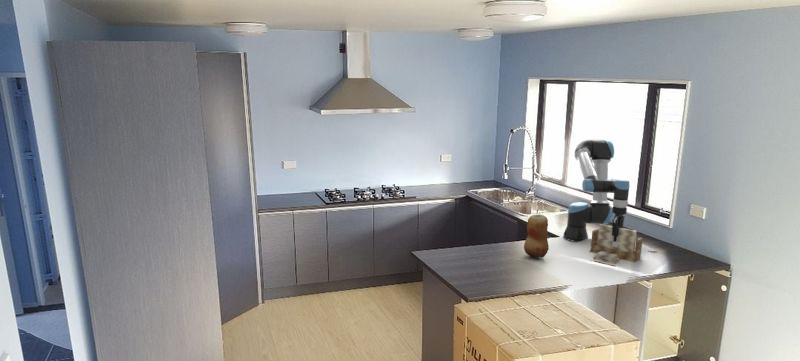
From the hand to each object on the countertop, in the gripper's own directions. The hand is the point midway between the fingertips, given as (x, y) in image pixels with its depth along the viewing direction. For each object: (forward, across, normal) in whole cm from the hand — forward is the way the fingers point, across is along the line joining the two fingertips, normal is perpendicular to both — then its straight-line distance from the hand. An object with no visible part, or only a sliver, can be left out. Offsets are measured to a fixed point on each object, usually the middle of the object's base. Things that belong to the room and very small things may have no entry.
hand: (615, 246), depth 293 cm
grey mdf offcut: (+4, -14, 0) cm, 14 cm away
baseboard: (+7, +33, +1) cm, 34 cm away
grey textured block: (+7, -14, 0) cm, 15 cm away
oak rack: (+7, 0, 0) cm, 7 cm away
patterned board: (+5, 0, 0) cm, 5 cm away
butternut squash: (+7, -35, +32) cm, 48 cm away
